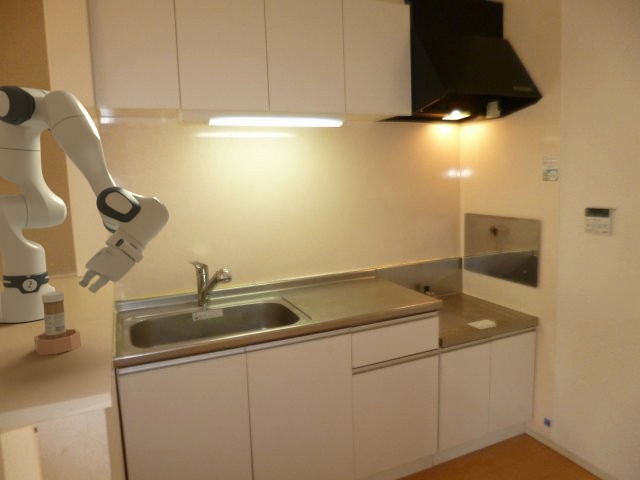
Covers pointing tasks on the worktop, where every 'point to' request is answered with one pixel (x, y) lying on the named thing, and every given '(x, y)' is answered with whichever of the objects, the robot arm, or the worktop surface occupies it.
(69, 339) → the bowl
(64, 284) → the worktop surface
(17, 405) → the worktop surface
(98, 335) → the worktop surface
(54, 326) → the sprinkles bottle
